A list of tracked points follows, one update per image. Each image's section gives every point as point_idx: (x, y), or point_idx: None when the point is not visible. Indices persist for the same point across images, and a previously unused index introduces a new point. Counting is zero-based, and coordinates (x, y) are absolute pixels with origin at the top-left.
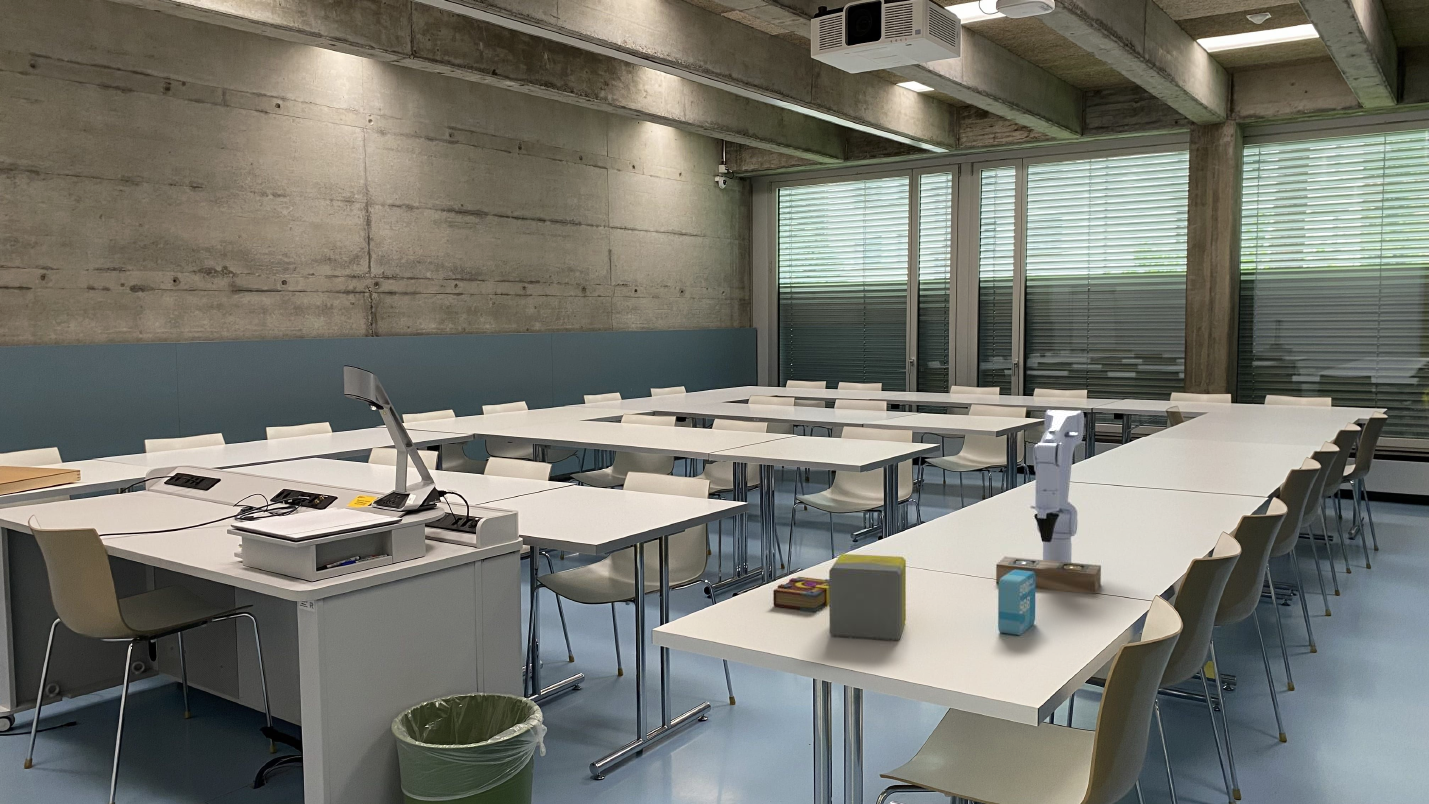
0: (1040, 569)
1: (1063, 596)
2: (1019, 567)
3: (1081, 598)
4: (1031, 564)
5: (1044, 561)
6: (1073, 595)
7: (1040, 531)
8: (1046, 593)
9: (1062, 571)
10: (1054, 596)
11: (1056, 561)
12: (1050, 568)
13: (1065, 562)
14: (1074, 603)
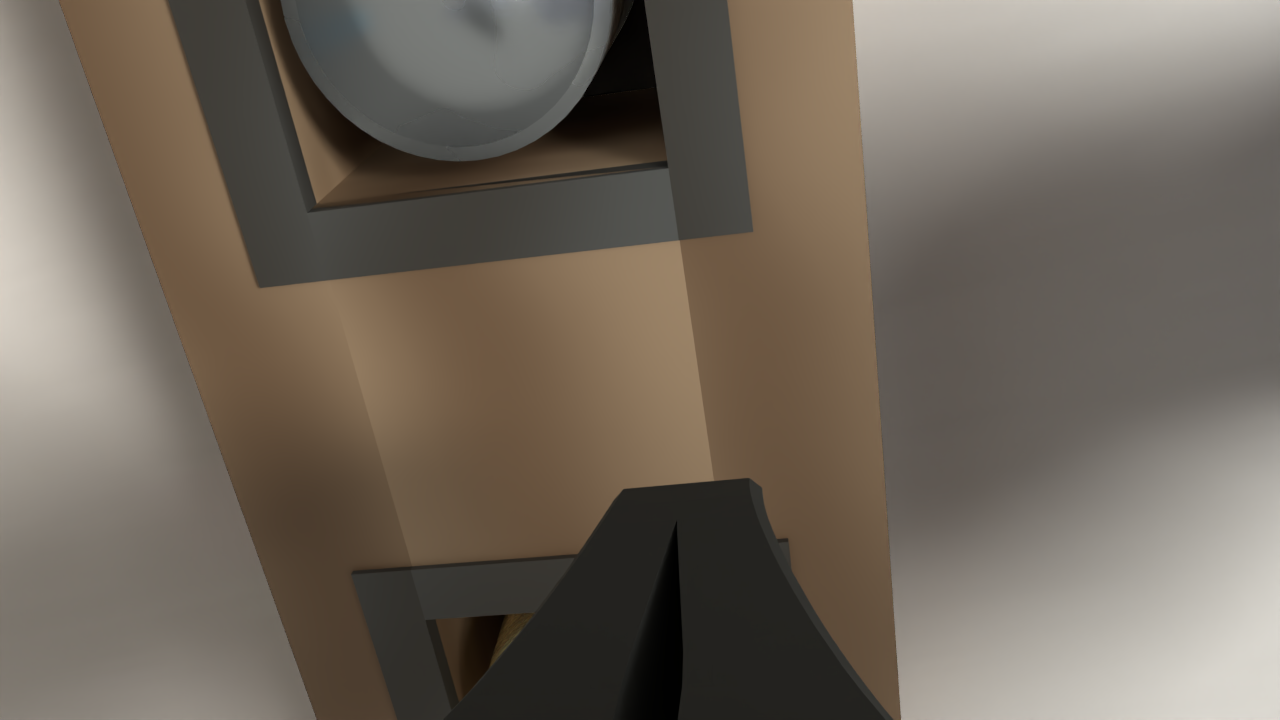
0: (205, 381)
1: (164, 564)
2: (78, 36)
3: (221, 708)
4: (422, 155)
5: (754, 293)
6: (274, 631)
7: (514, 658)
8: (145, 393)
9: (298, 657)
10: (94, 494)
11: (868, 455)
12: (316, 504)
13: (862, 583)
14: (5, 695)
